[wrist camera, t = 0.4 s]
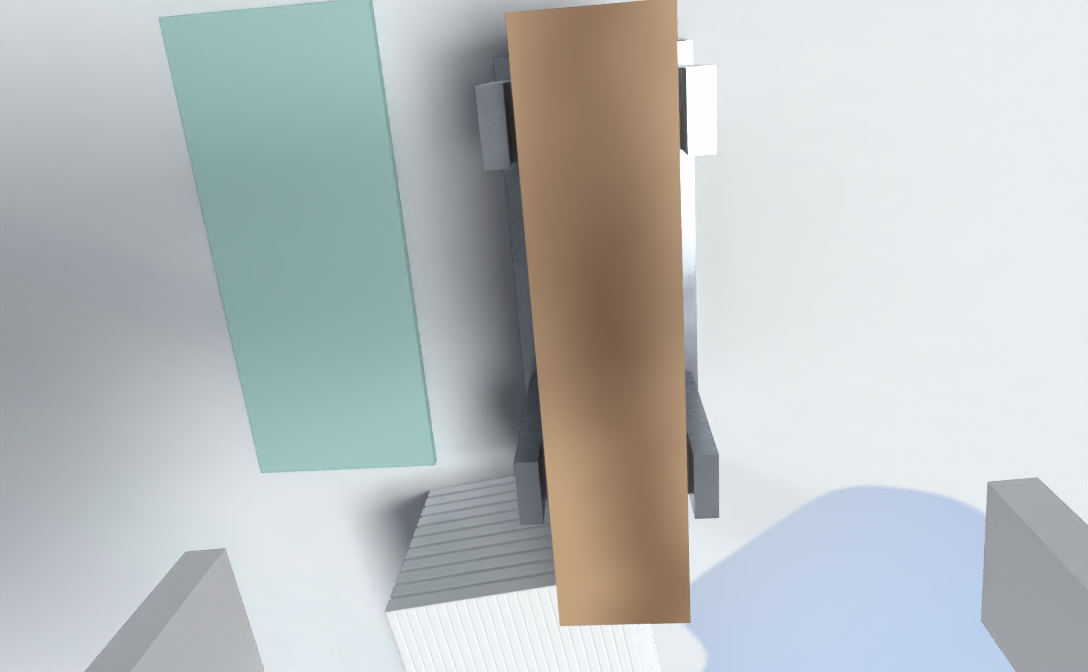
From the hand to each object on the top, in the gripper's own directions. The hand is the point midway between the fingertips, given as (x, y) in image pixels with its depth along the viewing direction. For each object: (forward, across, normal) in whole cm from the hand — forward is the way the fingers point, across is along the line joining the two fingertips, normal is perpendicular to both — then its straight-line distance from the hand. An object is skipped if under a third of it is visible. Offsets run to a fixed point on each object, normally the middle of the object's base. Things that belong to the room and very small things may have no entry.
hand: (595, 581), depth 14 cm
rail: (+19, 0, -1) cm, 19 cm away
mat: (+27, -15, +1) cm, 31 cm away
